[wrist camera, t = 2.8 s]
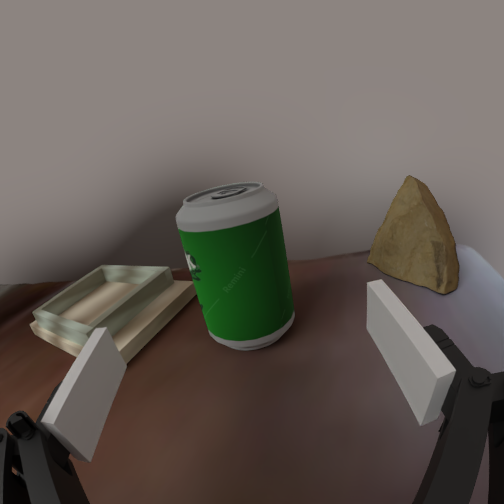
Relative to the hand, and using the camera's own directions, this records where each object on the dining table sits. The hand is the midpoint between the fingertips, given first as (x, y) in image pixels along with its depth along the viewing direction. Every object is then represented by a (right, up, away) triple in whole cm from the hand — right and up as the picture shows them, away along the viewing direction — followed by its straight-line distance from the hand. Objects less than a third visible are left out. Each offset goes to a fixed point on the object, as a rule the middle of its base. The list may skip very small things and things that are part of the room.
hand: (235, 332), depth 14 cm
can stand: (-16, -4, +18) cm, 24 cm away
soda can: (+1, -3, +12) cm, 12 cm away
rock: (+17, +1, +14) cm, 22 cm away
